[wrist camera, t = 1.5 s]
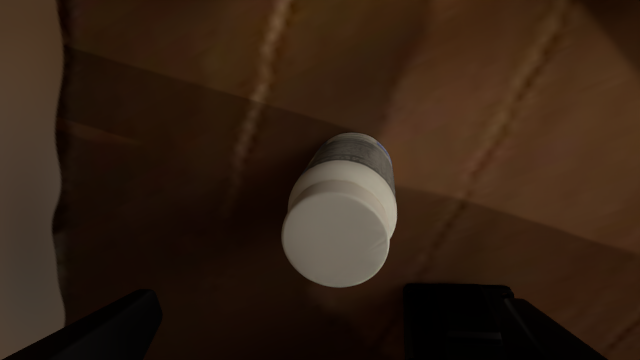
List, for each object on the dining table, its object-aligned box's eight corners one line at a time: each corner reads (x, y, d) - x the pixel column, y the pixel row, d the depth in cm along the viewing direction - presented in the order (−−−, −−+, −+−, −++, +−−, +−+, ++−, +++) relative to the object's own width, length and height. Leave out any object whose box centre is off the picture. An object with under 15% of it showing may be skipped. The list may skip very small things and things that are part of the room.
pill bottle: (307, 136, 19) (258, 186, 12) (389, 126, 18) (395, 175, 11) (319, 209, 21) (282, 298, 13) (395, 204, 20) (404, 297, 12)
